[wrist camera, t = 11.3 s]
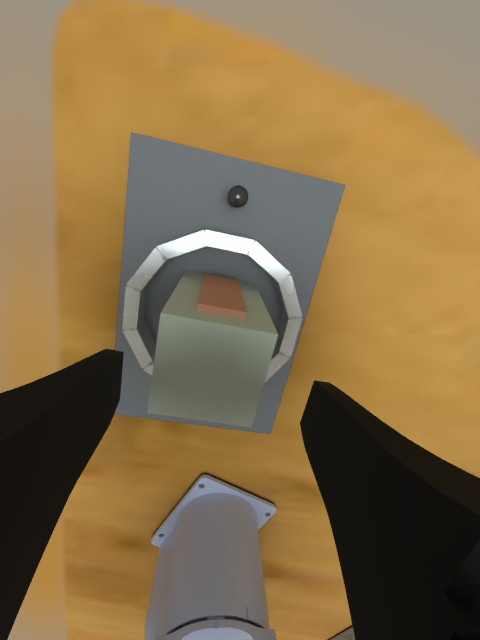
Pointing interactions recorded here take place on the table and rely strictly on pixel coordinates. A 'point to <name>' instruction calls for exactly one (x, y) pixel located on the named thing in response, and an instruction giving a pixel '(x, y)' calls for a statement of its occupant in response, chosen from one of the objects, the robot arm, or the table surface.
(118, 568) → the table surface
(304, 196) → the base board
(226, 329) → the pale green rectangular block
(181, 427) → the table surface
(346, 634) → the coffee box
